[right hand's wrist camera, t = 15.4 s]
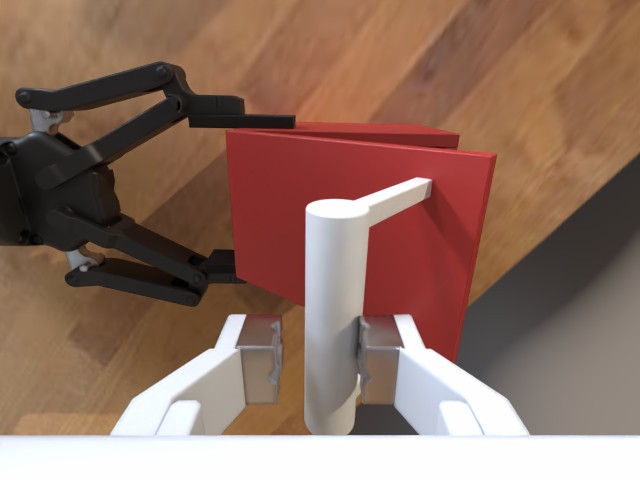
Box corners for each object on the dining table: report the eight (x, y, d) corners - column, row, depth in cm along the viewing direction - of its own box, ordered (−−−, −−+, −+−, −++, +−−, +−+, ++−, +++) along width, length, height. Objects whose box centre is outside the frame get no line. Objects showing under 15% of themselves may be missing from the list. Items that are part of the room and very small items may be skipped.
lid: (497, 153, 13) (410, 191, 7) (455, 362, 16) (374, 502, 11) (236, 129, 21) (94, 137, 15) (245, 272, 24) (132, 324, 19)
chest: (418, 124, 30) (460, 134, 21) (406, 229, 33) (437, 274, 25) (257, 121, 30) (232, 129, 21) (261, 227, 33) (242, 272, 24)
